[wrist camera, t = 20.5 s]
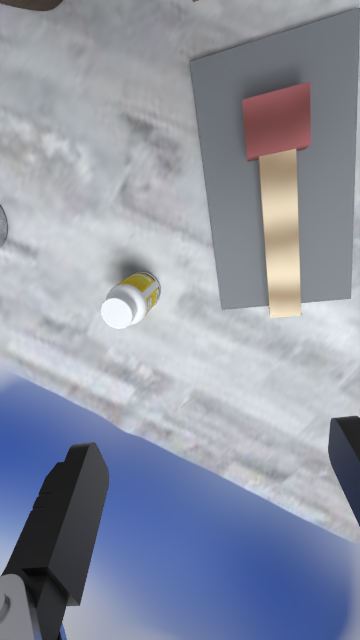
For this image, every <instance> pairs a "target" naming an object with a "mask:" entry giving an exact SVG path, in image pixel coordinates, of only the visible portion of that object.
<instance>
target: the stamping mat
mask: <svg viewBox="0 0 360 640" xmlns="http://www.w3.org/2000/svg"><path fill="white" fill-rule="evenodd" d="M359 30H360V8H357V9H354V10H351V11H348V12H344V13H341V14H338V15H335V16H332V17H329V18H325V19H322V20H319V21H316V22H313V23H310V24H307V25H303V26H300V27H297V28H294V29H291V30H288V31H284V32H281V33H278V34H275V35H272V36H269V37H266V38H262V39H259V40H256V41H253V42H250V43H247V44H244V45H240V46H237V47H234V48H231V49H228V50H225V51H221V52H218V53H215V54H212V55H209V56H206V57H203V58H199V59H196V60H193V61H190V68H191V76H192V83H193V91H194V99H195V106H196V114H197V122H198V129H199V137H200V145H201V152H202V160H203V168H204V175H205V183H206V191H207V199H208V206H209V214H210V222H211V229H212V237H213V245H214V252H215V260H216V268H217V275H218V283H219V291H220V298H221V306H222V310H225V309H237V308H248V307H260V306H269V302H268V288H267V274H266V260H265V245H264V231H263V217H262V203H261V188H260V174H259V160H254V161H249V162H247V152H246V140H245V128H244V116H243V104H242V100H243V99H247V98H251V97H254V96H258V95H262V94H266V93H269V92H273V91H277V90H280V89H284V88H288V87H292V86H295V85H299V84H303V83H306V82H310V114H311V145H309V146H308V147H307V148H306V149H305V150H301V151H296V158H297V192H298V225H299V259H300V292H301V303H306V302H318V301H329V300H341V299H351V279H352V248H353V217H354V186H355V155H356V124H357V93H358V61H359Z"/></svg>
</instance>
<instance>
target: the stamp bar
mask: <svg viewBox="0 0 360 640" xmlns="http://www.w3.org/2000/svg"><path fill="white" fill-rule="evenodd" d="M242 104H243V116H244V128H245V140H246V152H247V162H249V161H254V160H259V174H260V188H261V203H262V217H263V231H264V245H265V260H266V274H267V288H268V302H269V313H270V318H275V317H289V316H301V292H300V259H299V225H298V192H297V158H296V151H301V150H305V149H306V148H307V147H308V146H309V145H311V114H310V82H306V83H303V84H299V85H295V86H292V87H288V88H284V89H280V90H277V91H273V92H269V93H266V94H262V95H258V96H254V97H251V98H247V99H243V100H242Z"/></svg>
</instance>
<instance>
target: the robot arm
mask: <svg viewBox="0 0 360 640" xmlns="http://www.w3.org/2000/svg"><path fill="white" fill-rule="evenodd" d="M6 236H7V222H6V218H5V215H4V212H3V210H2V208H1V206H0V247H1V246H2V245H3V243H4V242H5V239H6ZM328 452H329V458H330V462H331V465H332V467H333V470H334V472H335V474H336V476H337V478H338V481H339V483H340V485H341V487H342V489H343V491H344V494H345V496H346V498H347V500H348V502H349V504H350V507H351V509H352V511H353V513H354V515H355V517H356V520H357V522H358V524H359V526H360V418H359V417H358V416H349V417H339V418H332V419H331V422H330V434H329V445H328ZM108 486H109V473H108V468H107V466H106V464H105V462H104V460H103V457H102V455H101V453H100V451H99V449H98V447H97V445H96V443H94V442H92V443H83V444H74V445H72V446H71V447H70V449H69V451H68V453H67V456H66V458H65V461H64V462H59V463H57V464H56V465H55V467H54V468H53V469H52V470H51V472H50V473H49V474H48V475H47V476H46V478H45V480H44V483H43V485H42V487H41V489H40V492H39V497H37V499H36V501H35V503H34V505H33V510H32V511H31V512H30V514H29V517H28V519H27V521H26V523H25V526H24V528H23V531H22V532H21V535H20V537H19V539H18V541H17V544H16V546H15V548H14V551H13V553H12V555H11V557H10V559H9V562H8V564H7V566H6V568H5V570H4V572H3V573H2V575H1V577H0V640H67V638H66V634H65V630H64V626H63V624H62V620H63V617H64V613H65V609H66V606H80V603H81V598H82V594H83V590H84V586H85V582H86V578H87V573H88V569H89V565H90V561H91V557H92V553H93V548H94V544H95V540H96V536H97V532H98V528H99V523H100V519H101V515H102V511H103V507H104V503H105V499H106V495H107V490H108Z"/></svg>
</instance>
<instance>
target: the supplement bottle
mask: <svg viewBox="0 0 360 640" xmlns="http://www.w3.org/2000/svg"><path fill="white" fill-rule="evenodd" d="M160 293H161V290H160V285H159V283H158V281H157V280H156V278H155V277H153V276H152V275H151V274H149V273H146V272H137V273H134V274H132V275H130V276H129V277H127V278H126V279H125V280H123V281H122V282H120V283H119V284H118V285H116V286H115V287H113V288H112V289H111V290H110V291H109V293H108V294H107V297H106V300H105V301H104V302H103V304H102V306H101V315H102V318H103V320H104V321H105V322H106V323H107V324H108V325H109V326H111V327H113V328H116V329H123V328H125V327H127V326H128V325H133V324H136V323H138V322H139V321H140V320H142V319H143V317H144V316H145V315H146V314H147V313H148V312H149V311H150V309H151V308H152V307H153V306H154V305H155V304H156V303H157V301H158V299H159V297H160Z"/></svg>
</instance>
